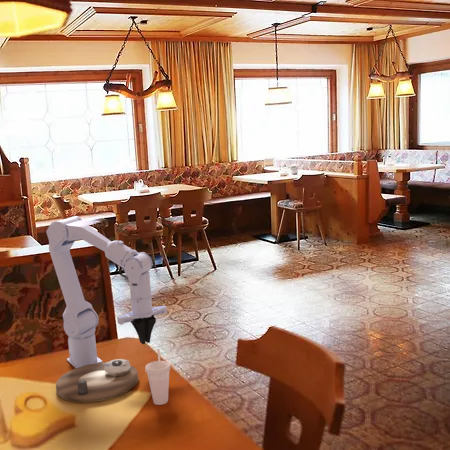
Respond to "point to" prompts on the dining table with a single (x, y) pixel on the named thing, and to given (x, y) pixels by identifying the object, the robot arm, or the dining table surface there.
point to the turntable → (94, 383)
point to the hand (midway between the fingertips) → (145, 342)
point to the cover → (117, 368)
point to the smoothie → (158, 380)
